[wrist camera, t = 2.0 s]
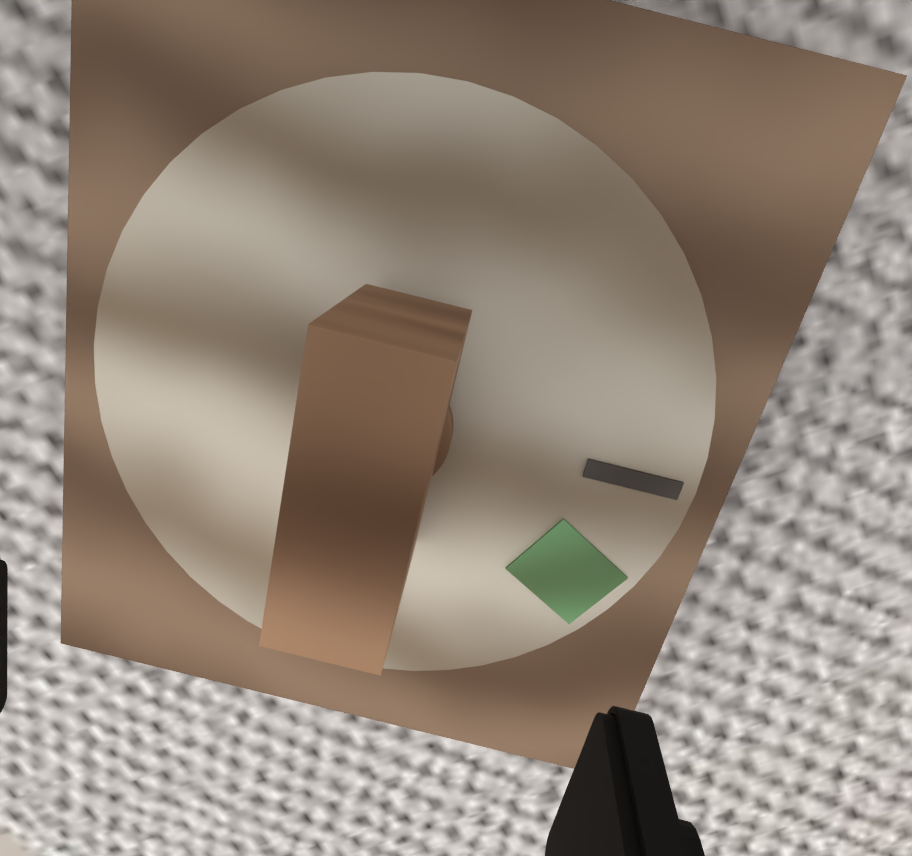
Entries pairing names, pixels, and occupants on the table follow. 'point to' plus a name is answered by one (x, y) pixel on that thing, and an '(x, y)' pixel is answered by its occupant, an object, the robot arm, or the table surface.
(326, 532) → the wing knob
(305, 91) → the dial board
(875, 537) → the table surface
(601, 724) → the robot arm
